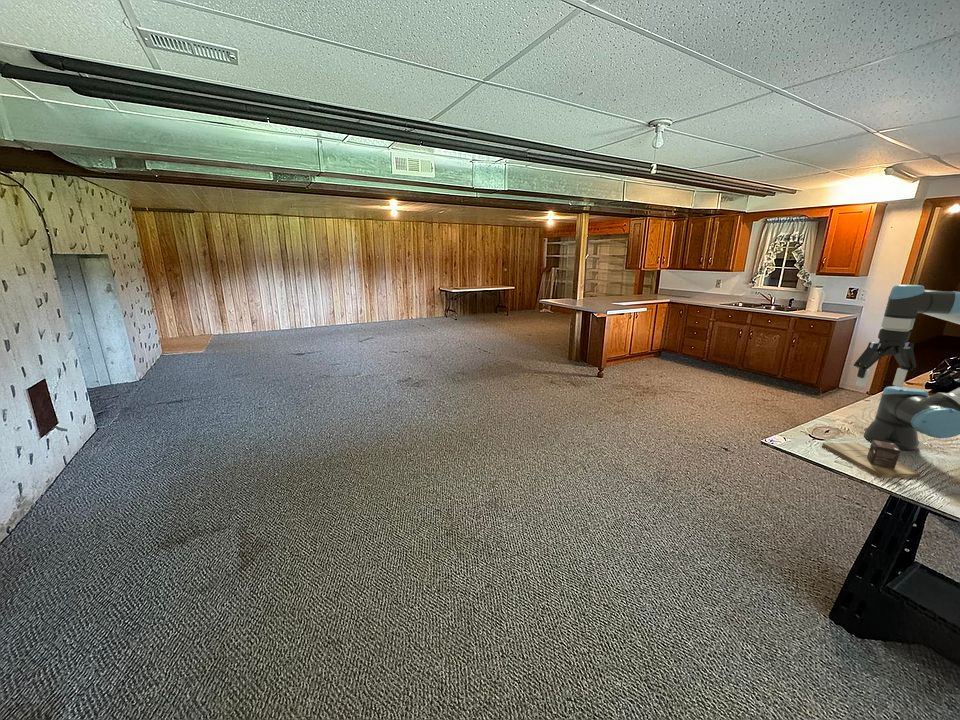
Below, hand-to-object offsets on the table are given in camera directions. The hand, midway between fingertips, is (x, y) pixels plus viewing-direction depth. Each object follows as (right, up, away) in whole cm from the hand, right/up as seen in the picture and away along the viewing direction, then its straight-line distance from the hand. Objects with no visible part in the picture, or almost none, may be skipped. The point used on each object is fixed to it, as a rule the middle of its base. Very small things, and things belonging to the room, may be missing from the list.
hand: (878, 386), depth 138 cm
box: (-4, -28, -4) cm, 28 cm away
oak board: (-4, -28, 0) cm, 28 cm away
